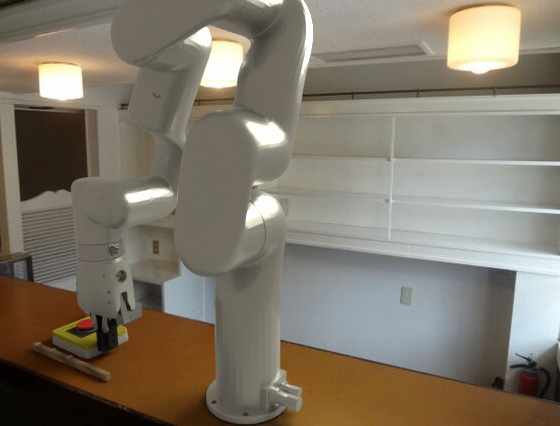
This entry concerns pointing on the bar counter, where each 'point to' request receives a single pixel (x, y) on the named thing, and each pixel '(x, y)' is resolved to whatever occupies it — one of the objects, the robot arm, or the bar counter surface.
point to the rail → (72, 361)
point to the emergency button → (82, 337)
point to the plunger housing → (132, 312)
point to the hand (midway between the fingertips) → (108, 348)
